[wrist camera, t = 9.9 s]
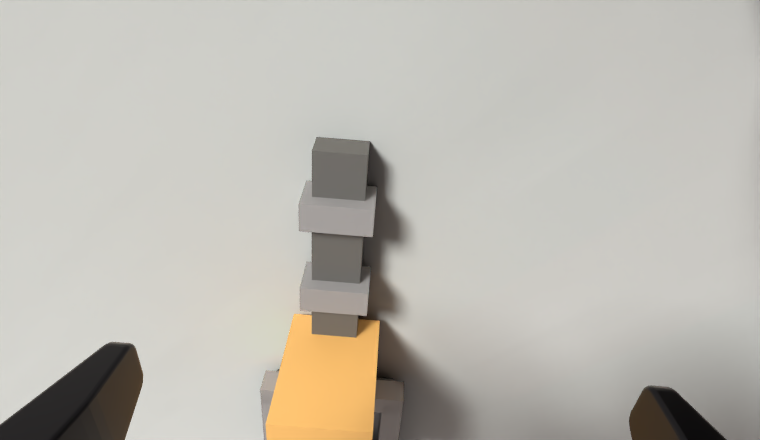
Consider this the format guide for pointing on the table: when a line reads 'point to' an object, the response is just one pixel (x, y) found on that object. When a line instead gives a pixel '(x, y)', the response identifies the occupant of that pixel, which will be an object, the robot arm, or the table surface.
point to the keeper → (375, 415)
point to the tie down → (333, 315)
